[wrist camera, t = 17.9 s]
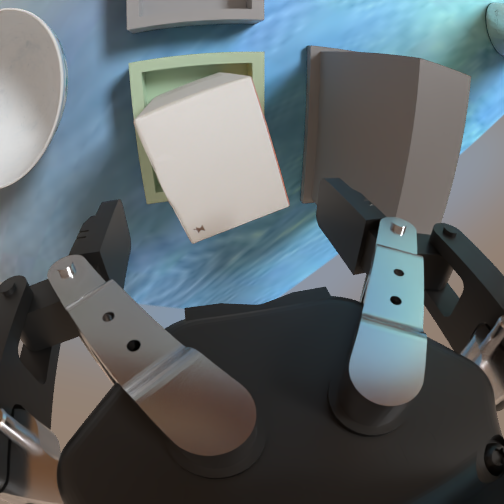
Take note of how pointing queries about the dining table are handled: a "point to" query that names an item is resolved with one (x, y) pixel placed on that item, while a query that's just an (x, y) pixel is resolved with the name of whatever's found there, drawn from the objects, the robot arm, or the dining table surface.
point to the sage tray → (177, 74)
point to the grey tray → (191, 13)
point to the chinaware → (28, 91)
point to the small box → (213, 154)
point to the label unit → (384, 130)
